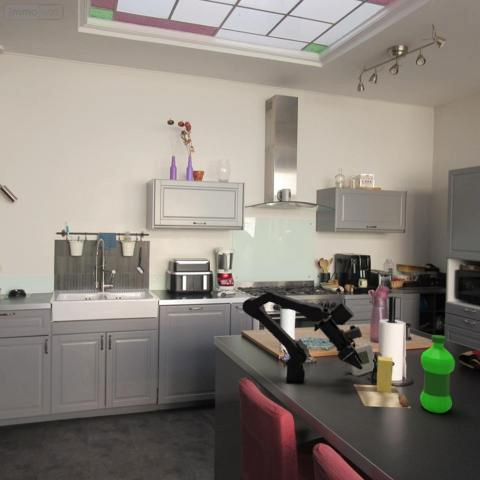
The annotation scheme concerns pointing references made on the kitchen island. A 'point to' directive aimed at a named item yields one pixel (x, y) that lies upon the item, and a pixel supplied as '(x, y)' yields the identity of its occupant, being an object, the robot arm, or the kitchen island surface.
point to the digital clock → (363, 360)
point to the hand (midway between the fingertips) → (361, 365)
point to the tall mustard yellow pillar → (384, 374)
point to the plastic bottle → (437, 376)
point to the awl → (403, 400)
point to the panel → (378, 396)
